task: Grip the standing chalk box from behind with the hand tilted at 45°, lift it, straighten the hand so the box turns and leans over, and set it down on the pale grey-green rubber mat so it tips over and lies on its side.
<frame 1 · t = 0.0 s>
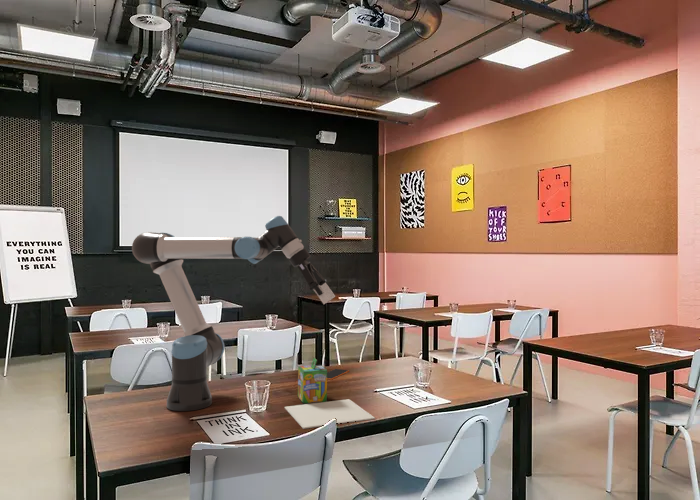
hand: (330, 300, 185), 36 cm above the table, tool tilted 35°, fingers open, 13 cm apart
chalk box: (312, 400, 184), on the table
smartphone: (333, 375, 221), on the table
mat: (328, 413, 168), on the table
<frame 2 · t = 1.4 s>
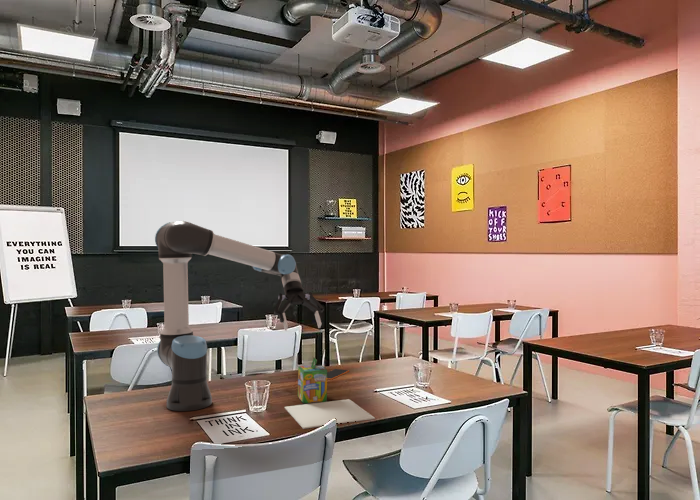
hand: (303, 327, 196), 25 cm above the table, tool tilted 45°, fingers open, 13 cm apart
nothing on the table moved.
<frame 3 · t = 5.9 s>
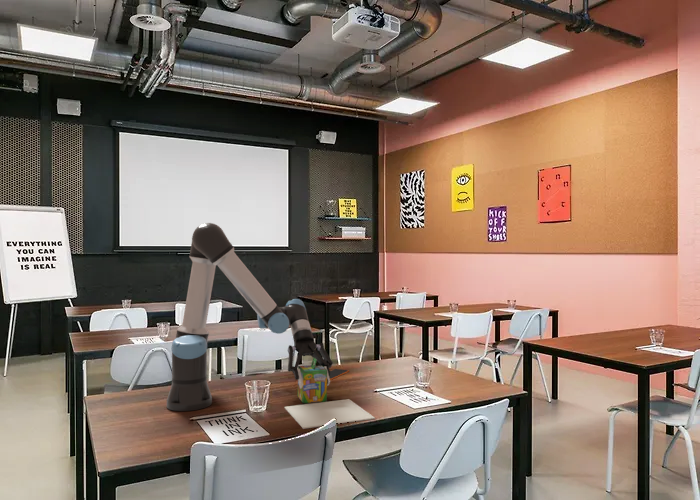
hand: (315, 385, 181), 6 cm above the table, tool tilted 45°, fingers closed on chalk box, 9 cm apart
chalk box: (312, 399, 184), on the table, touching gripper
everything else where it was.
when the fingers open (7 cm above the table, at t = 12.6 s): chalk box moves 3 cm, resting on mat.
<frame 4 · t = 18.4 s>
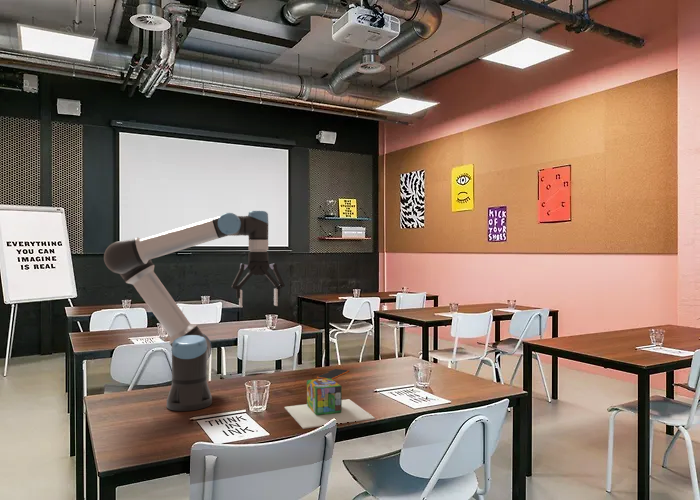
hand: (258, 306, 195), 33 cm above the table, tool pointing down, fingers open, 13 cm apart
chalk box: (319, 391, 177), point 5 cm above the table, touching mat
everything else where it was.
at the end: chalk box tilted 89°; chalk box touching mat; chalk box inside the target area (3.6 cm from its centre), point 4.8 cm above the table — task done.
